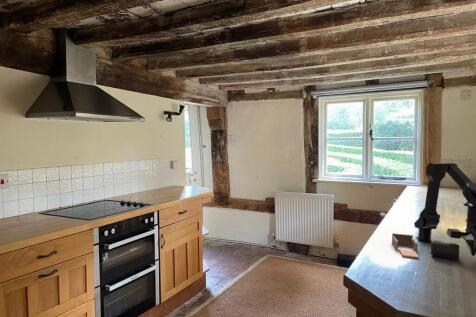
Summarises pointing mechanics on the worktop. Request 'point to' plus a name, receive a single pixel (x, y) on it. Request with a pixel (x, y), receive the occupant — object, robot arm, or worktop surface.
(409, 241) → the brown wooden open frame
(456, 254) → the end cap
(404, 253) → the salmon pink flat panel
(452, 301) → the worktop surface
